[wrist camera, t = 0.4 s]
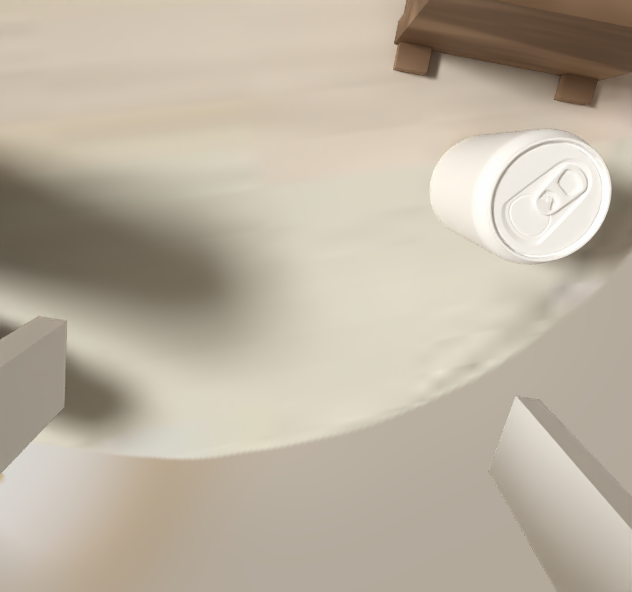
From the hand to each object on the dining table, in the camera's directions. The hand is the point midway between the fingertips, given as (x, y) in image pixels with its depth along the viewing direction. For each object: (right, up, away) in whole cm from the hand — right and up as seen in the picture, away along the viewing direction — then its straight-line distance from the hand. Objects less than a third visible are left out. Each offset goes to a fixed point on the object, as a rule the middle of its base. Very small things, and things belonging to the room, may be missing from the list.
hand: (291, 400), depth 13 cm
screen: (+15, +22, +21) cm, 34 cm away
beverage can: (+14, +12, +24) cm, 31 cm away
